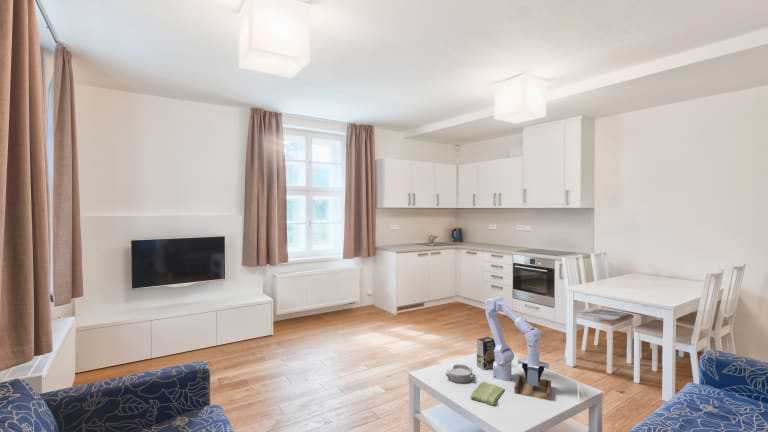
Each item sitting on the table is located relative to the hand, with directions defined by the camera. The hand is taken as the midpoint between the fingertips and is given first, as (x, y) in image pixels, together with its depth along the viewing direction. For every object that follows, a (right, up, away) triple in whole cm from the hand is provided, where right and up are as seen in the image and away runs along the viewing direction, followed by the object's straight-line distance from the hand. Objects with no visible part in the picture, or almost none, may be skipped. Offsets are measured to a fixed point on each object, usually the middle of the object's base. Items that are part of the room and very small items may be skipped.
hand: (533, 379), depth 189 cm
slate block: (0, -2, 0) cm, 2 cm away
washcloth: (-24, -7, -3) cm, 25 cm away
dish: (-33, -6, +16) cm, 37 cm away
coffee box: (-16, -5, +29) cm, 34 cm away
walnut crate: (0, -6, -1) cm, 6 cm away
